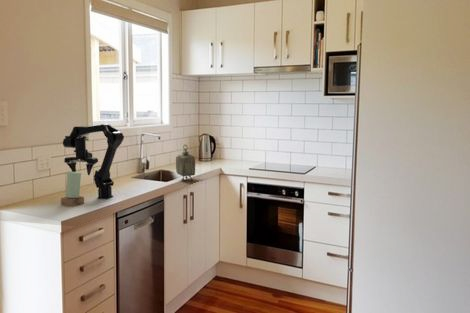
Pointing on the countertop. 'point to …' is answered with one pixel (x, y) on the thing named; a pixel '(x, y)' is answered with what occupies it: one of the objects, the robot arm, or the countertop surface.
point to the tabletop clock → (185, 164)
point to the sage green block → (73, 184)
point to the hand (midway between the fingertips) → (81, 174)
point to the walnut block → (72, 201)
